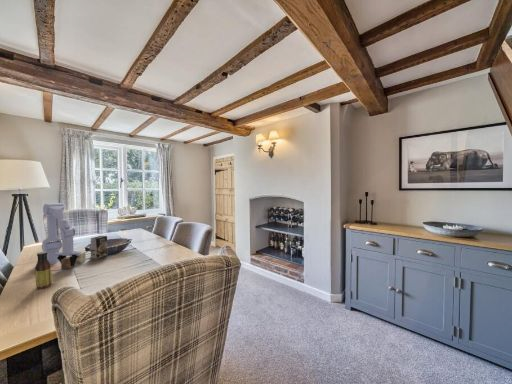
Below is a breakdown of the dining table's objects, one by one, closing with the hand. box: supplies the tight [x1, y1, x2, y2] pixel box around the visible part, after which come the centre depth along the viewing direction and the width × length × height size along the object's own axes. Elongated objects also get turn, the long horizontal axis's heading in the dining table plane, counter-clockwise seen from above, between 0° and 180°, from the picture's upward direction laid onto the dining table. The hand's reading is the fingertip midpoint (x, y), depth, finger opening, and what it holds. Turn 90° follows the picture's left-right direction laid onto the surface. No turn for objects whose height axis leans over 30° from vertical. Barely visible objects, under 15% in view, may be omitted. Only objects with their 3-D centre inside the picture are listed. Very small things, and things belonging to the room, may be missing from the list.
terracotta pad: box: [50, 265, 61, 271], centre depth 145 cm, size 8×8×1 cm
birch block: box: [75, 251, 86, 264], centre depth 156 cm, size 5×5×7 cm
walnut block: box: [61, 256, 75, 270], centre depth 145 cm, size 5×5×7 cm
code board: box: [51, 259, 91, 273], centre depth 150 cm, size 17×22×1 cm
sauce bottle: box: [34, 251, 52, 290], centre depth 120 cm, size 6×6×20 cm
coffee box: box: [90, 235, 108, 260], centre depth 169 cm, size 9×6×16 cm
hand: (68, 266), depth 145 cm, fingers closed on walnut block, 5 cm apart
